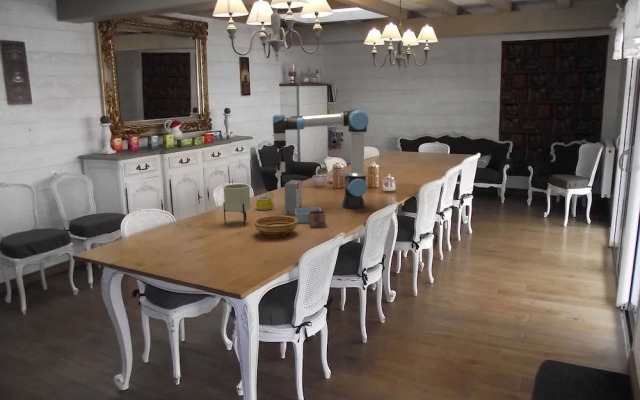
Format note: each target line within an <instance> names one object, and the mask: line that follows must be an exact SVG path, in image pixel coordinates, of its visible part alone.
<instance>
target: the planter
mask: <svg viewBox="0 0 640 400" xmlns="http://www.w3.org/2000/svg"><path fill="white" fill-rule="evenodd" d="M250 193H251V191H250V185H249V184H244V183H232V184H228V185H224V186H223V199H224V200H223V218H224V225H226V224H227V222H226V221H227V220H226V212H231V213H241V214H242V215H243V216H242V217H243V227H246V221H247V211H248V210H251V194H250Z"/></svg>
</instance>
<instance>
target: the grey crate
mask: <svg viewBox="0 0 640 400" xmlns="http://www.w3.org/2000/svg"><path fill="white" fill-rule="evenodd" d="M309 211H322V209H321V207H302V208H295V215H294V216H295V218H297V219H298V221H297V225H302V224H303V225H304V224H306V225H307V224H310V222H309Z"/></svg>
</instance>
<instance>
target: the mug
mask: <svg viewBox="0 0 640 400" xmlns="http://www.w3.org/2000/svg"><path fill="white" fill-rule="evenodd" d="M274 196H275V195H274V193H273V192H272V191H268V192H267V193H266V195H265V196H264V195H263V196H258V197H257V198H256V202H255V203H256V204H255V206H256V209H257V210H258V211H268V210H271V209H273V208H275V202H274V200H273V198H274Z"/></svg>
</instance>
